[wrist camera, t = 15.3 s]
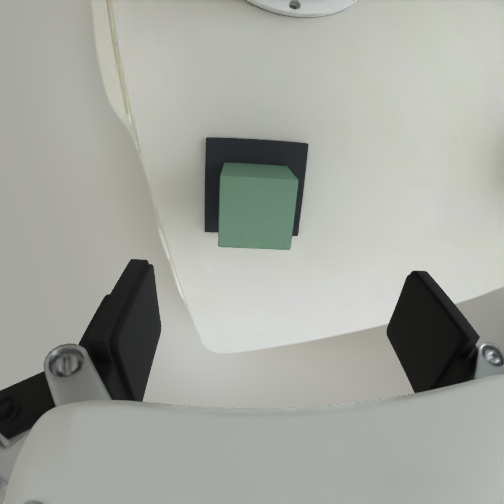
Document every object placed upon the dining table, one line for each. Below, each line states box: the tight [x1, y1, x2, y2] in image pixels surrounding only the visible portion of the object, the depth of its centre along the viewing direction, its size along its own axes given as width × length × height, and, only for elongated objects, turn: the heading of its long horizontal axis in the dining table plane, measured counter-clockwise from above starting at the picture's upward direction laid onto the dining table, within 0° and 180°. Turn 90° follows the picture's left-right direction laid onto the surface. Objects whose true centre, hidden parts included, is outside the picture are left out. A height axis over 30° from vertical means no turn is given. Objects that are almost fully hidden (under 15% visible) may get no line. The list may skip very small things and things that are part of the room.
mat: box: [205, 138, 308, 236], centre depth 24 cm, size 8×8×1 cm
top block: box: [218, 163, 298, 250], centre depth 22 cm, size 5×5×5 cm
